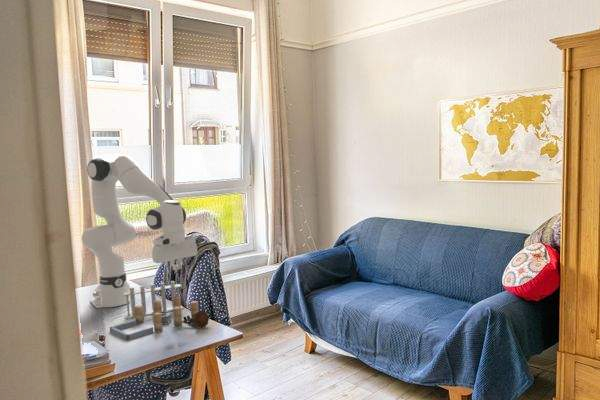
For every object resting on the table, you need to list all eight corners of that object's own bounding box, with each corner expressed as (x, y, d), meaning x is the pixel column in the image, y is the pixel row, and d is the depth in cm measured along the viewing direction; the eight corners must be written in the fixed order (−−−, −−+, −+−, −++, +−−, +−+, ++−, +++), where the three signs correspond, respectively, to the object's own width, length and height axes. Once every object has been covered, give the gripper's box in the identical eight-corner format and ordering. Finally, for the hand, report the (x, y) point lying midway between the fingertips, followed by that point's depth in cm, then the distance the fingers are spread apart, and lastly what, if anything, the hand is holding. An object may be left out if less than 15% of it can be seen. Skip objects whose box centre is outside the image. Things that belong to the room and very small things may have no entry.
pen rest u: (110, 332, 195) (109, 327, 195) (135, 324, 203) (135, 319, 203) (127, 340, 185) (126, 335, 185) (153, 332, 193) (153, 327, 193)
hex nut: (155, 322, 205) (154, 315, 204) (165, 319, 208) (165, 312, 208) (162, 325, 201) (161, 317, 200) (172, 322, 204) (172, 314, 204)
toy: (195, 308, 208) (212, 307, 197) (198, 325, 207) (215, 325, 196) (174, 313, 202) (191, 313, 190) (177, 331, 201) (194, 331, 190)
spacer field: (134, 323, 205) (132, 307, 204) (177, 310, 220) (176, 295, 219) (156, 332, 192) (155, 315, 191) (201, 318, 207) (200, 302, 206)
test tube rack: (126, 319, 210) (123, 290, 209) (125, 317, 214) (122, 287, 213) (183, 309, 221) (181, 281, 220) (181, 307, 225) (179, 279, 224)
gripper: (191, 233, 217) (193, 263, 218) (149, 241, 202) (151, 273, 203) (198, 234, 212) (201, 265, 213) (156, 242, 198) (159, 275, 199)
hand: (176, 269), depth 208 cm, fingers closed
